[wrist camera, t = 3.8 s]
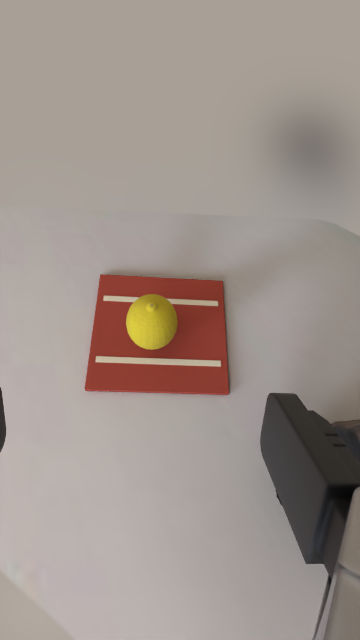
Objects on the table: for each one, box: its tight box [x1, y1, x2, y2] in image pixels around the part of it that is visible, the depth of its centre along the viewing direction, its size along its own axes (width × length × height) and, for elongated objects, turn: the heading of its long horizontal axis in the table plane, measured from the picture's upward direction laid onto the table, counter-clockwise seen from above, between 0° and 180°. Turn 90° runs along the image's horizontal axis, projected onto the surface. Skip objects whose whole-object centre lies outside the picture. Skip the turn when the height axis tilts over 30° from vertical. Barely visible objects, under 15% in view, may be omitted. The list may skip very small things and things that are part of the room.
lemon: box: [126, 294, 178, 350], centre depth 36 cm, size 6×6×8 cm
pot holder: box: [85, 275, 229, 395], centre depth 40 cm, size 16×15×1 cm
